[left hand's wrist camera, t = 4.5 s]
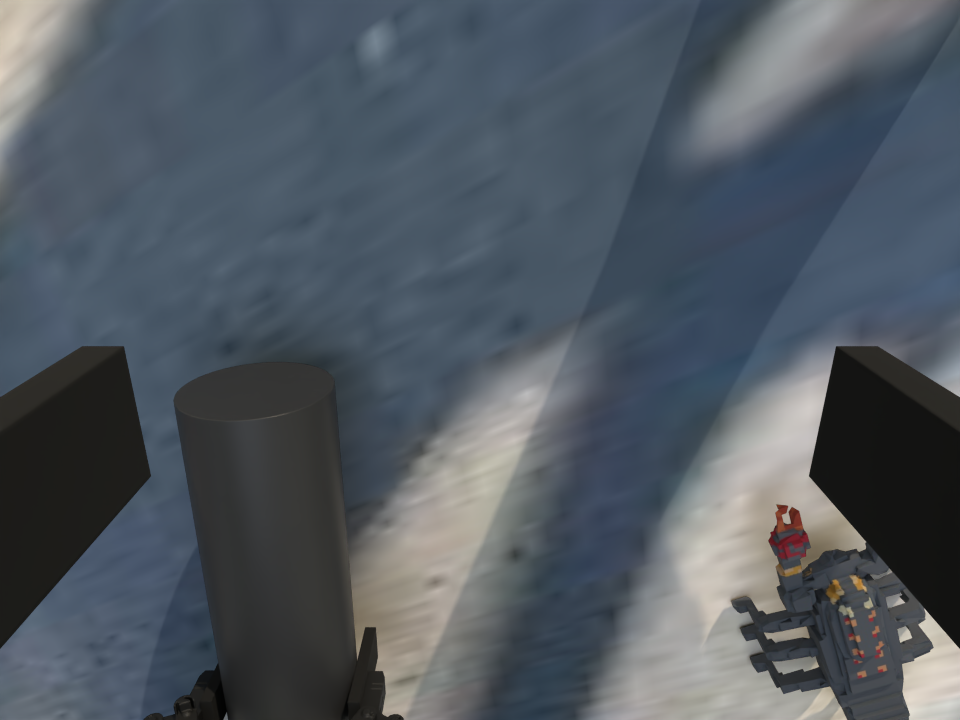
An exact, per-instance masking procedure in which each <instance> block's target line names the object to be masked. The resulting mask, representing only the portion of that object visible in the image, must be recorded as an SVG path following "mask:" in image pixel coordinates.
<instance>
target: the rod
mask: <svg viewBox="0 0 960 720" xmlns="http://www.w3.org/2000/svg"><path fill="white" fill-rule="evenodd" d="M174 407H175V413H176V419H177V424H178V430H179V436H180V442H181V448H182V454H183V459H184V465H185V471H186V477H187V483H188V489H189V494H190V500H191V506H192V512H193V518H194V523H195V529H196V535H197V541H198V547H199V553H200V558H201V564H202V570H203V576H204V582H205V588H206V593H207V599H208V605H209V611H210V617H211V622H212V628H213V634H214V640H215V646H216V652H217V657H218V663H219V669H220V675H221V681H222V687H223V692H224V698H225V704H226V710H227V716H228V720H349V714H348V703H347V702H348V698H349V694H350V690H351V686H352V681H353V677H354V673H355V669H356V665H357V653H356V641H355V629H354V616H353V604H352V591H351V579H350V566H349V554H348V542H347V529H346V517H345V504H344V492H343V480H342V467H341V455H340V442H339V430H338V417H337V405H336V393H335V381H334V378H333V377H332V376H331V374H329V373H328V372H327V371H325V370H323V369H320V368H318V367H315V366H311V365H306V364H300V363H290V362H266V363H254V364H246V365H240V366H235V367H230V368H226V369H222V370H218V371H215V372H212V373H209V374H206V375H203V376H201V377H198V378H196V379H194V380H192V381H191V382H189V383H187V384H186V385H184V386H183V387H182V388H180V390H179V391H178V392H177V393H176V395H175V397H174Z"/></svg>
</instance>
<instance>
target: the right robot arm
mask: <svg viewBox="0 0 960 720" xmlns="http://www.w3.org/2000/svg"><path fill="white" fill-rule="evenodd" d="M377 659H378V653H377V638H376V627H365V631H364V635H363V639H362V644H361V648H360V652H359V656H358V660H357V665H356V669H355V673H354V677H353V681H352V686H351V690H350V694H349V698H348V702H347V703H348V714H349V720H404V719H403V717H402V716H401V715H398V714H393V715H390V716H389V717H386V716H384V715H383V714H382V711H383V705H384V700H385V694H386V692H385V677H384V674H383V671H375V668H376V664H377ZM174 711H175V714H173V715H170V716H166V717H163V716H162V714H160V713H153V714H150V715H149V716H147V717H146V718H145V719H144V720H223V719H224V717H225V714H226V712H227V710H226V704H225V698H224V692H223V687H222V681H221V675H220V669H219V663H218V664H217V666H216V668H215V670H214V671H204V672H203V673H202V674H201V675H200V676H199V678H198V680H197V682H196V684H195V686H194V688H193V690H192V692H191V694H190V695H185V696H182V697H180V698H179V699H177V700H176V702H175V703H174Z"/></svg>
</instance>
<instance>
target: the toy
mask: <svg viewBox="0 0 960 720" xmlns="http://www.w3.org/2000/svg"><path fill="white" fill-rule="evenodd" d="M777 507H778V509H779V510H778V511H777V512H776V518H777V525H776V526H775V528H774V531H773V532H770V533H771V537H770V539H769V540H768V541H769V543H770V545H771V547H772V550H773V552H774V554H775V555H776V556H777V558H778V561H779V564H778V565H777V566H776V570H777V573H778V577H779V581H780V584H781V585H779V586H778V587H777V590H778V593H779V596H780V599H781V600H782V602H783V604H784V606H785V608H786V609H787V610H784V611H780V612H775V613H771V614H767V615H766V614H765V613H764V612H763V611H759V612H758V610H757V608H756V607H755V605H754V604H753V602H752V600H751V599H750V598H748V597H743V598H739V599H736V600H733V601H731V602H732V605H733V607H734V608H735V609H736V611H737V612H739V613H744V612H749V614H750V616H751V617H752V619H753V621H754V623H755V624H753V625H750V626H746V627H743V628H740V629H741V632H742V635H743V636H744V638H745V639H746V641H749V640H754V639H758V641H759V643H760V645H761V647H762V649H763V651H764V653H763V654H759V655H756V656H753V657H750V659H751V662H752V665H753V667H754V668H755V669H756V671H757V672H758V673H759V672H763V671H767V670H768V671H769V673H770V676H771V678H772V680H773V681H774V683H775V685H776V687H777V688H778V687H780V688H781V690H782V692H783V694H785V693H789V692H792V691H796V690H800V689H801V691H802V692H804V691H809V690H814V689H819V688H824V687H829V686H830V687H831V688H832V690H833V692H834V694H835V696H836V698H837V700H838V703H839V704H840V706H841V707H842V709H843V711H844V714H845V716H846V718H847V720H909V716H910V714H909V711H908V708H907V705H906V702H905V700H904V697H903V693H902V689H903V680H904V678H903V670H902V664H903V663H907V662H911V661H914V658H917V657H919V656H922V655H924V654H926V653H928V652H930V650H931V649H932V648H933V645H932V642H931V641H930V640H929V638H928V637H927V636H926V635H925V633H924V632H923V631H922V629H921V628H920V627H919V626H918V624H919V623H921V622H922V621H924V620H926V619H925V610H924V607H923V606H922V605H921V604H920V603H919V601H918V600H917V599H916V598H915V597H914V596H913V595H912V593H911V592H910V591H909V590H908V589H907V588H906V587H905V585H904V584H903V583H902V582H901V581H900V580H899V579H898V577H897V576H896V575H895V574H894V573H893V572H892V573H890V574H888V575H886V576H884V577H882V578H880V579H877V580H874V579H873V578H872V577H871V576H870V574H875V575H879V574H882V573H884V572H887V570H888V568H889V567H888V566H887V565H886V564H885V563H884V561H883V560H882V559H881V558H880V557H879V556H878V555H877V553H876V552H875V551H874V550H873V549H872V548H871V546H870V545H869V544H868V543H867V542H866V543H865V544H866V550H863V551H861V552H858V551H857V549H854V550H850V551H846V552H845V551H841V550H837V549H835V550H832V551H825V552H824V553H822V555H821V556H820V558H819V559H818V560H816V561H814V562H812V563H810V564H809V565H808V567H807V568H806V569H805V570H803V571H802V568H801V562H800V558H802V557H805V556H806V549H809V548H811V547H810V543H809V539H808V536H807V533H806V532H805V531H804V529H803V526H802V521H801V517H800V513H799V511H798V510H796V509H795V508H793V507H792V508H791V509H790V511H789V516H790V520H791V524H785V523H783V519H782V514H785V513H786V512H787V508H788V506H786V505H777ZM900 592H901V594H902V595H901V596H900V598H901V599H902V600H903V601H904V602H905V603H904V604H901V605H898V606H895V607H892V608H889V609H888V607H887V603H886V599H885V597H887V596H891V595H895V594H899V593H900ZM804 626H807V629H808V632H809V636H810V638H809V639H808V638H797V639H792V640H787V641H782V642H777V643H775V642H774V641H773V640H772V639H768V640H767V638H766V636H765V634H764V632H766V633H774V632H779V631H785V630H789V629H794V628H799V627H804ZM904 626H906V627H907V628H908V629H909V631H910V633H911V636H912V639H909V640H906V641H903V642H901V643H900V641H899V636H898V632H897V629H898V628H901V627H904ZM808 656H811V657H814V656H816V658H817V662H818V665H819V667H818V668H815V669H812V670H809V671H806V672H804V671H803V669H801V670H798V671H794V672H791V673H788V674H784V675H783V674H782V672H781V673H778V671H777V670H776V668H775V666H774V664H773V663H772V661H785V660H792V659H797V658H802V657H808Z"/></svg>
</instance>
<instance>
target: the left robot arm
mask: <svg viewBox="0 0 960 720" xmlns="http://www.w3.org/2000/svg"><path fill="white" fill-rule="evenodd" d="M150 477H151V474H150V469H149V464H148V460H147V455H146V450H145V445H144V440H143V436H142V431H141V426H140V421H139V417H138V412H137V407H136V402H135V397H134V393H133V388H132V383H131V378H130V374H129V369H128V364H127V359H126V354H125V350H124V346H82V347H80V348H79V349H77V350H76V351H74V352H72V353H71V354H69V355H68V356H66V357H64V358H63V359H61V360H60V361H58V362H56V363H55V364H53V365H52V366H50V367H48V368H47V369H45V370H43V371H42V372H40V373H39V374H37V375H35V376H34V377H32V378H31V379H29V380H27V381H26V382H24V383H23V384H21V385H19V386H18V387H16V388H14V389H13V390H11V391H10V392H8V393H6V394H5V395H3V396H2V397H0V648H1V647H2V646H3V645H4V644H5V643H6V642H7V640H8V639H9V638H10V637H11V636H12V635H13V634H14V632H15V631H16V630H17V629H18V628H19V627H20V626H21V624H22V623H23V622H24V621H25V620H26V619H27V617H28V616H29V615H30V614H31V613H32V612H33V611H34V609H35V608H36V607H37V606H38V605H39V604H40V603H41V601H42V600H43V599H44V598H45V597H46V596H47V595H48V593H49V592H50V591H51V590H52V589H53V588H54V587H55V585H56V584H57V583H58V582H59V581H60V580H61V579H62V577H63V576H64V575H65V574H66V573H67V572H68V571H69V569H70V568H71V567H72V566H73V565H74V564H75V563H76V561H77V560H78V559H79V558H80V557H81V556H82V555H83V553H84V552H85V551H86V550H87V549H88V548H89V546H90V545H91V544H92V543H93V542H94V541H95V540H96V538H97V537H98V536H99V535H100V534H101V533H102V532H103V530H104V529H105V528H106V527H107V526H108V525H109V524H110V522H111V521H112V520H113V519H114V518H115V517H116V516H117V514H118V513H119V512H120V511H121V510H122V509H123V508H124V506H125V505H126V504H127V503H128V502H129V501H130V500H131V498H132V497H133V496H134V495H135V494H136V493H137V492H138V490H139V489H140V488H141V487H142V486H143V485H144V484H145V482H146V481H147V480H148V479H149V478H150ZM809 477H810V478H811V479H812V480H813V481H814V482H815V484H816V485H817V486H818V487H819V488H820V489H821V490H822V492H823V493H824V494H825V495H826V496H827V497H828V498H829V500H830V501H831V502H832V503H833V504H834V505H835V506H836V508H837V509H838V510H839V511H840V512H841V513H842V514H843V516H844V517H845V518H846V519H847V520H848V521H849V522H850V524H851V525H852V526H853V527H854V528H855V529H856V530H857V532H858V533H859V534H860V535H861V536H862V537H863V538H864V540H865V541H866V542H867V543H868V544H869V545H870V546H871V548H872V549H873V550H874V551H875V552H876V553H877V555H878V556H879V557H880V558H881V559H882V560H883V561H884V563H885V564H886V565H887V566H888V567H889V568H890V569H891V571H892V572H893V573H894V574H895V575H896V576H897V577H898V579H899V580H900V581H901V582H902V583H903V584H904V585H905V587H906V588H907V589H908V590H909V591H910V592H911V593H912V595H913V596H914V597H915V598H916V599H917V600H918V601H919V603H920V604H921V605H922V606H923V607H924V608H925V609H926V611H927V612H928V613H929V614H930V615H931V616H932V618H933V619H934V620H935V621H936V622H937V623H938V624H939V626H940V627H941V628H942V629H943V630H944V631H945V632H946V634H947V635H948V636H949V637H950V638H951V639H952V640H953V642H954V643H955V644H956V645H957V646H958V647H959V648H960V397H958V396H957V395H955V394H954V393H952V392H950V391H949V390H947V389H945V388H944V387H942V386H941V385H939V384H937V383H936V382H934V381H933V380H931V379H929V378H928V377H926V376H925V375H923V374H921V373H920V372H918V371H917V370H915V369H913V368H912V367H910V366H908V365H907V364H905V363H904V362H902V361H900V360H899V359H897V358H896V357H894V356H892V355H891V354H889V353H888V352H886V351H884V350H883V349H881V348H880V347H878V346H836V350H835V354H834V359H833V364H832V369H831V374H830V378H829V383H828V388H827V393H826V397H825V402H824V407H823V412H822V417H821V421H820V426H819V431H818V436H817V440H816V445H815V450H814V455H813V460H812V464H811V469H810V474H809Z"/></svg>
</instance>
